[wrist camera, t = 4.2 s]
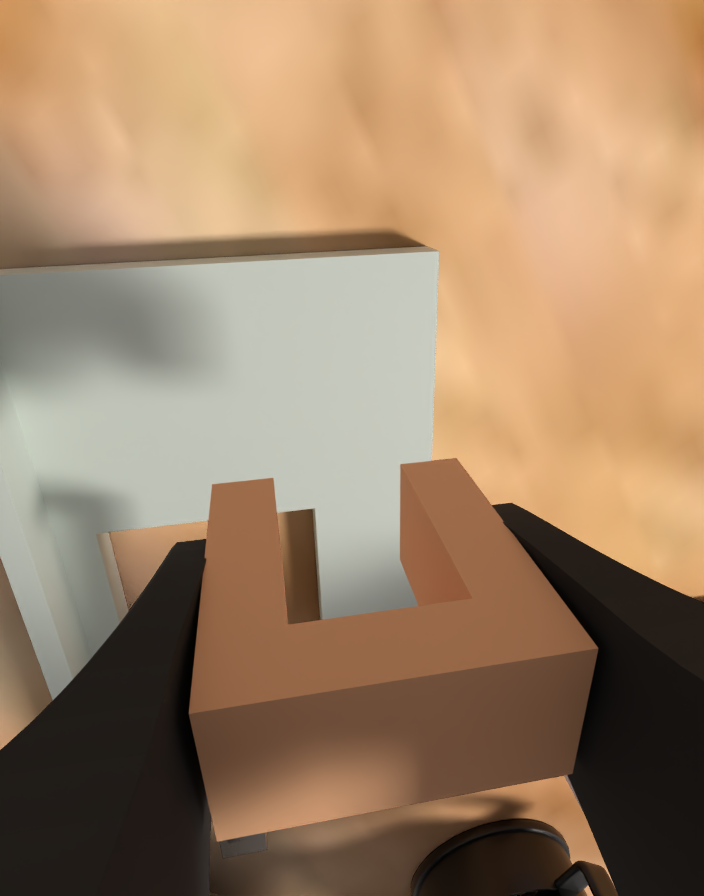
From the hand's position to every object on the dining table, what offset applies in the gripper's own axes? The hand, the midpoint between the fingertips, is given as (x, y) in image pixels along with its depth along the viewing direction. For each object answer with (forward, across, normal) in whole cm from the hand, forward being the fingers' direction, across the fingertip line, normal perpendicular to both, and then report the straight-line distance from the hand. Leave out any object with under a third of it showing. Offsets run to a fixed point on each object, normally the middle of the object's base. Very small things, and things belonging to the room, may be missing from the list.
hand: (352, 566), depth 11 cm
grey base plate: (+9, +3, +6) cm, 11 cm away
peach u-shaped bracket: (+2, 0, 0) cm, 2 cm away
